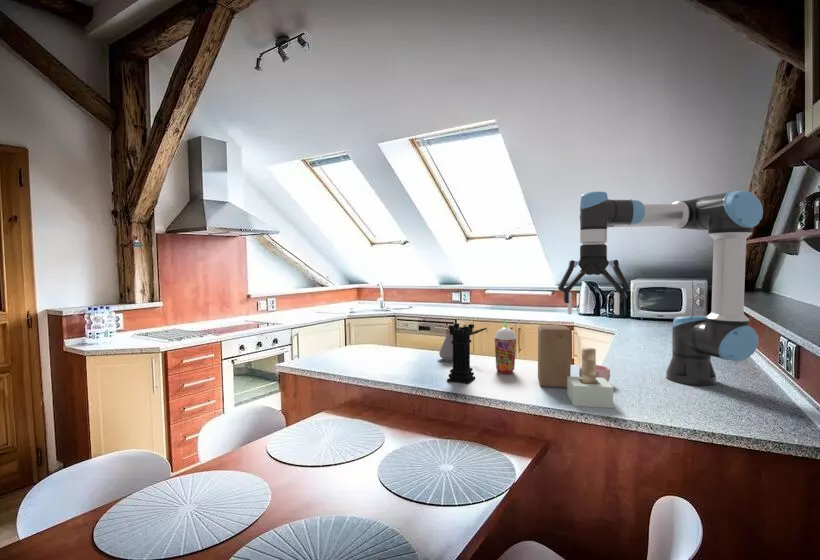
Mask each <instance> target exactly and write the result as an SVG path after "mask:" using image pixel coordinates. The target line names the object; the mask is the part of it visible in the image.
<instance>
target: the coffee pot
mask: <svg viewBox="0 0 820 560" xmlns="http://www.w3.org/2000/svg"><path fill="white" fill-rule="evenodd" d="M483 331H486V332H487V333H488V332H489V330H488V328H487V327H483V328H480V329H477V330H476V329H475V330H473V333H472V334H470V336H473V335H475V334H478V333H480V332H483ZM444 333H446V334H445V335H446V336H445V338H444V340H443V343H442V345H441V348H440V351H439V357H440V358H441V359H442V360H443V361H444V362H448V363H453V344H451V341H453V335H450V329H445V330H444Z"/></svg>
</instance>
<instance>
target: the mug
mask: <svg viewBox="0 0 820 560" xmlns="http://www.w3.org/2000/svg"><path fill="white" fill-rule="evenodd" d="M578 375H579V377H582V365H580V366H579V370H578ZM610 377H611V370H610V368H609V367H608V366H605V365H599V364H596V378H605V379H606V380H607V381H608V382H610Z"/></svg>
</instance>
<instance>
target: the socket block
mask: <svg viewBox="0 0 820 560" xmlns="http://www.w3.org/2000/svg"><path fill="white" fill-rule="evenodd" d="M566 391H567V393H566V395H567V397H568V399H569V400H570V402H571V404H572V405H573V407H586V408H587V407H588V408H590V407H591V408H605V409H606V408H609V409H613V408H614V386H613V385H612V384H611V383H609V381H607V380H606V379H605V378H596V384H582V377H580V376H572V375H570V376H567V388H566Z"/></svg>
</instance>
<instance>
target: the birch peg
mask: <svg viewBox="0 0 820 560" xmlns="http://www.w3.org/2000/svg"><path fill="white" fill-rule="evenodd" d="M596 352H597V349H596V348H593V347H582V348H581V366H582V384H596V365H597V360H596V357H597V355H596V354H597V353H596Z"/></svg>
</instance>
